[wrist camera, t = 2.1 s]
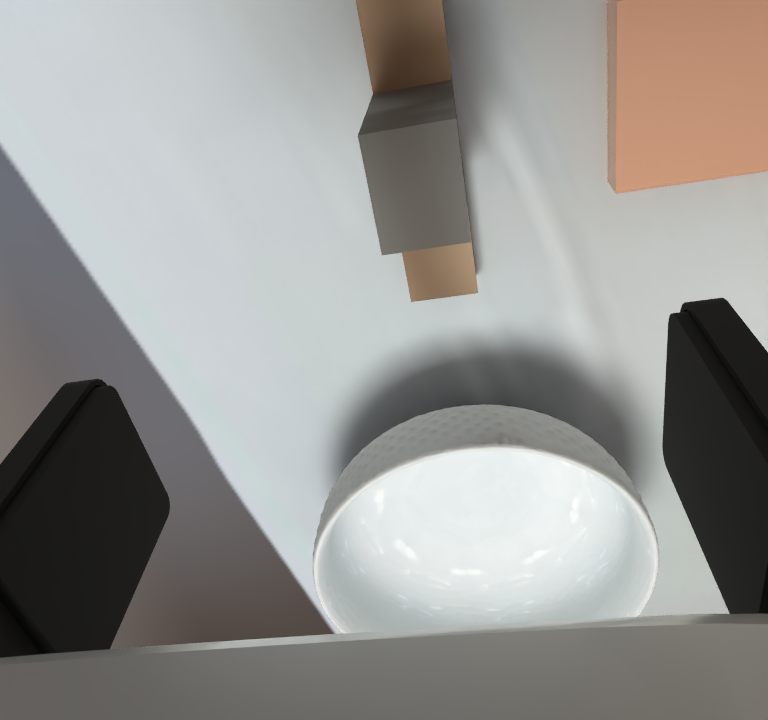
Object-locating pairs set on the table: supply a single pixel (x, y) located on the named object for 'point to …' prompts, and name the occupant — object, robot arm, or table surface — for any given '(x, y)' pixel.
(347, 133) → the table surface
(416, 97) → the scraper
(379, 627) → the cereal bowl
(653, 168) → the tile
